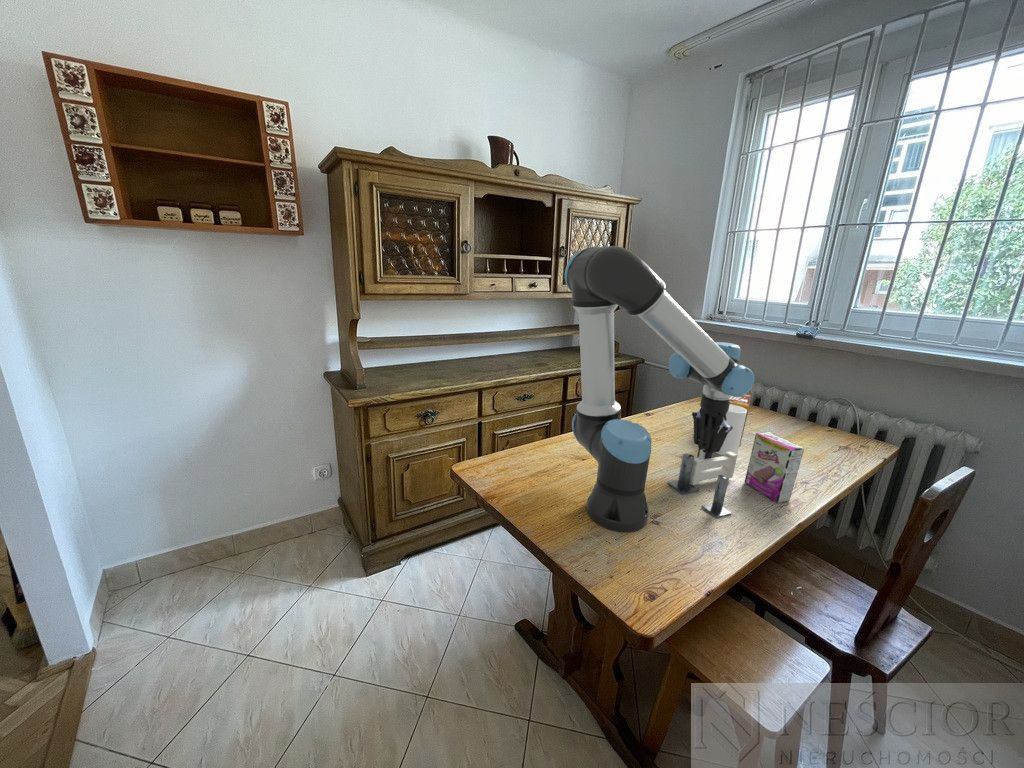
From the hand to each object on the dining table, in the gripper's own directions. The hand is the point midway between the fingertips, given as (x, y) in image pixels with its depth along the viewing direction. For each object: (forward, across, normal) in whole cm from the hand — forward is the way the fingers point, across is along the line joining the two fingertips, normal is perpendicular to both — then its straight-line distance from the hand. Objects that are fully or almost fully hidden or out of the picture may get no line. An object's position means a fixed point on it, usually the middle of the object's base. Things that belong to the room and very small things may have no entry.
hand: (701, 469), depth 122 cm
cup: (+2, -10, +21) cm, 24 cm away
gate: (+1, +4, -1) cm, 5 cm away
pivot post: (+2, +4, -11) cm, 12 cm away
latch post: (+2, +16, -11) cm, 20 cm away
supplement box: (+2, -20, +33) cm, 39 cm away
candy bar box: (+2, +13, +11) cm, 17 cm away
